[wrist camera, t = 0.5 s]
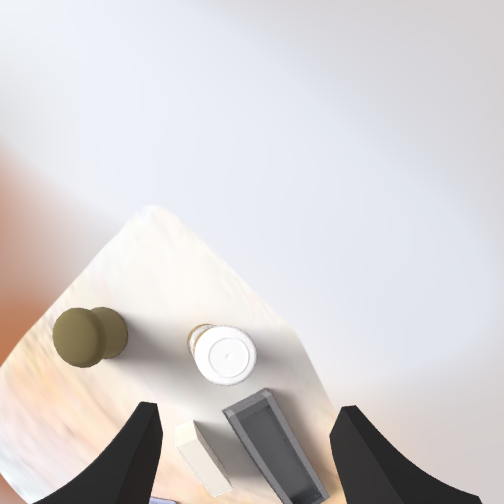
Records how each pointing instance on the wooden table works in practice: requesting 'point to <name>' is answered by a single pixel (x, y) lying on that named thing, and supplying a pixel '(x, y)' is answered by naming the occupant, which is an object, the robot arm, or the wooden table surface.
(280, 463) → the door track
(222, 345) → the sprinkles bottle
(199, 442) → the door panel
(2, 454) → the wooden table surface
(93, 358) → the cork
